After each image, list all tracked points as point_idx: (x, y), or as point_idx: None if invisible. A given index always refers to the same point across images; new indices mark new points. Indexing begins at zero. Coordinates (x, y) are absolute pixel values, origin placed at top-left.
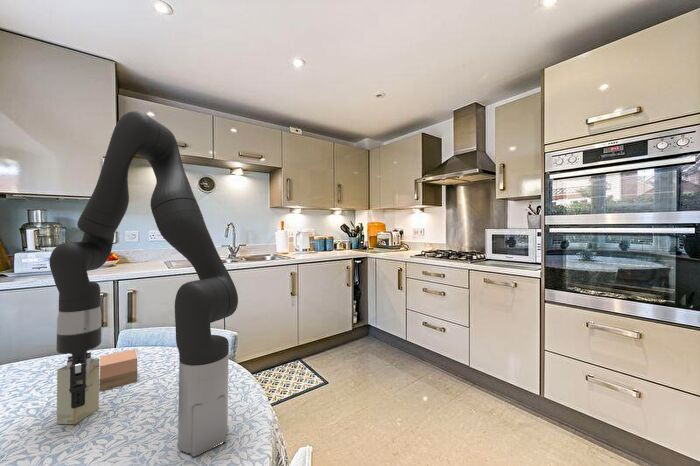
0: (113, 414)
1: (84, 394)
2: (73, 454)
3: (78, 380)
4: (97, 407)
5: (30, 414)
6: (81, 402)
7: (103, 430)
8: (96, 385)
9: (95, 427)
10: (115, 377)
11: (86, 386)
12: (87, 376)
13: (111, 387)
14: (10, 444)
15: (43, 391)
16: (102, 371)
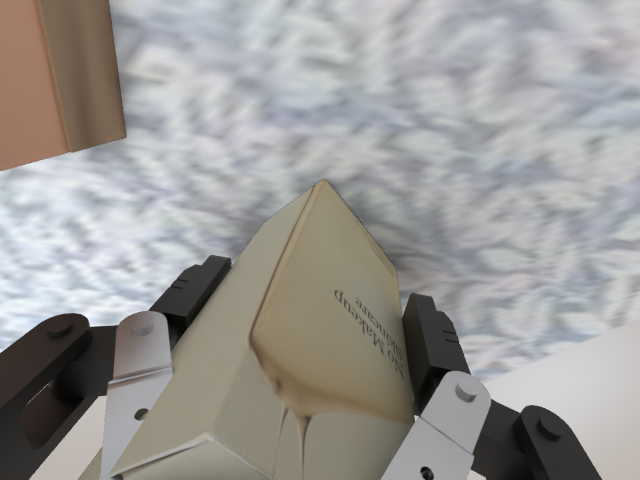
0: (450, 138)
1: (441, 339)
2: (620, 303)
3: None
4: (328, 187)
5: None
6: (452, 327)
7: (562, 203)
8: (316, 251)
9: (497, 220)
10: (63, 57)
11: (476, 384)
12: (459, 445)
13: (114, 81)
14: None
15: (10, 291)
16: (17, 150)
